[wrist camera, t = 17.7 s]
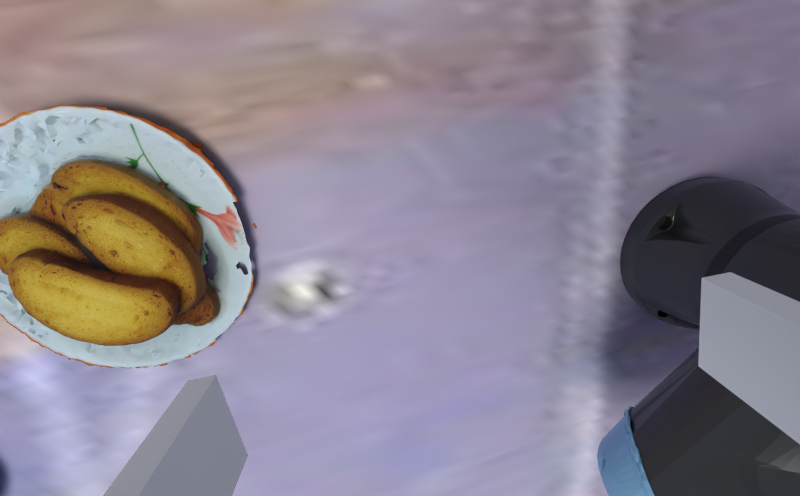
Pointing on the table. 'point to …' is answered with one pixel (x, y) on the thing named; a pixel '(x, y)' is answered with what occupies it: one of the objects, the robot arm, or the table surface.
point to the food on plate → (115, 238)
